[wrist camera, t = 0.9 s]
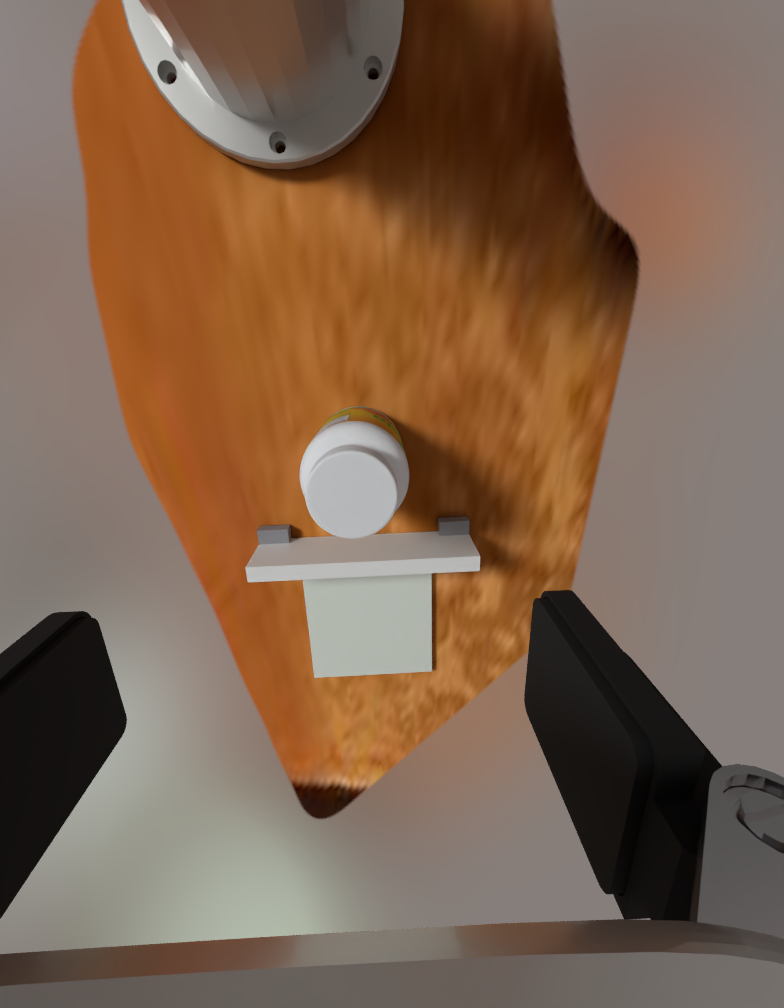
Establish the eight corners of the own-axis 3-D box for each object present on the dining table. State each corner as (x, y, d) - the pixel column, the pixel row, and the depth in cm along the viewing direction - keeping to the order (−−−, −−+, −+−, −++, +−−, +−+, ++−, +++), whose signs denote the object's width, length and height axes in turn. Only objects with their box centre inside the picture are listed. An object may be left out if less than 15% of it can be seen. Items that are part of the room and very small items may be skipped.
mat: (302, 570, 30) (301, 573, 30) (430, 564, 30) (431, 566, 30) (315, 674, 33) (314, 677, 33) (431, 667, 33) (431, 671, 33)
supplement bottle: (417, 459, 28) (438, 513, 19) (349, 503, 28) (337, 575, 19) (370, 387, 26) (368, 407, 17) (299, 436, 27) (261, 480, 18)
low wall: (260, 526, 29) (242, 552, 25) (467, 516, 29) (480, 540, 25) (266, 565, 30) (250, 596, 26) (466, 556, 30) (479, 585, 26)
